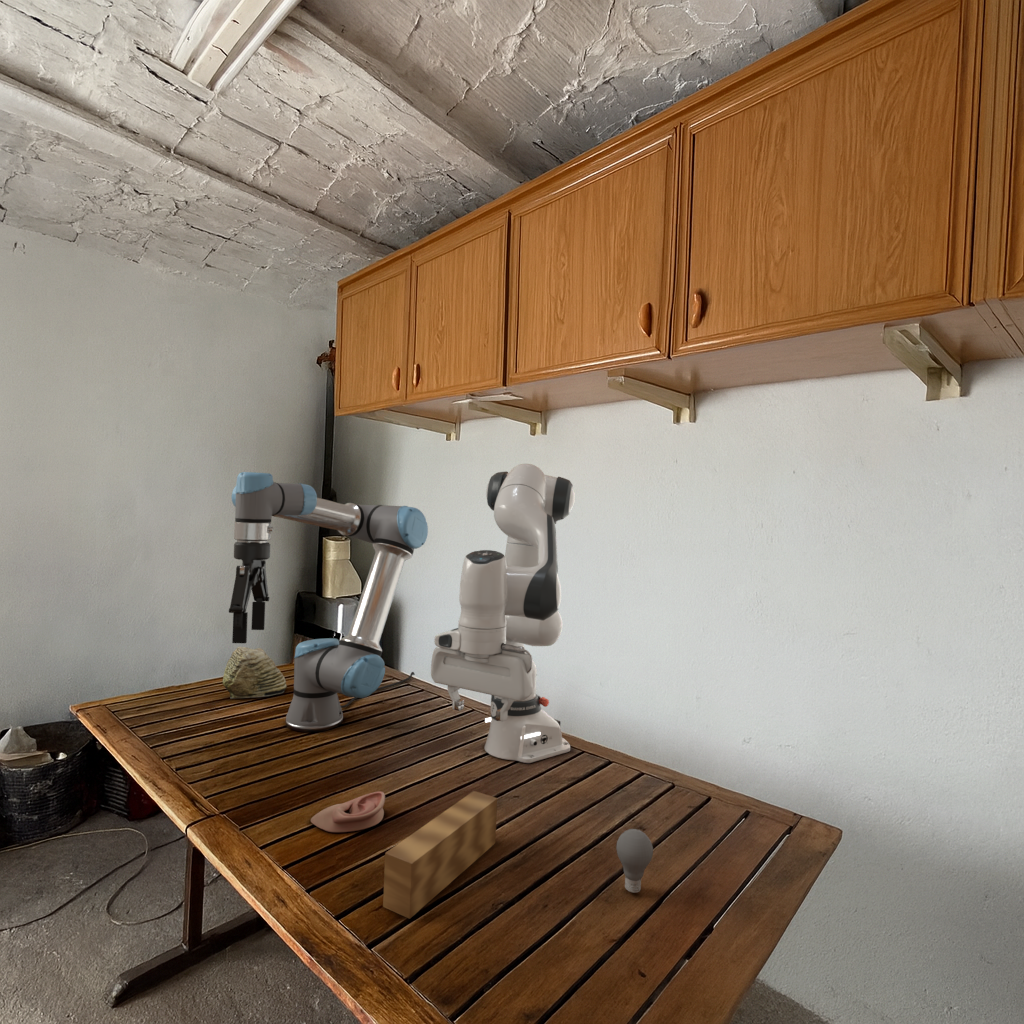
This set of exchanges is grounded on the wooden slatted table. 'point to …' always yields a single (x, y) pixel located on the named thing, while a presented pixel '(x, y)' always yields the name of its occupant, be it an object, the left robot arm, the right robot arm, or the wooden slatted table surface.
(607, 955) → the wooden slatted table surface
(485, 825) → the bar
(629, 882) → the light bulb
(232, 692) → the fossil
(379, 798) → the anatomical model
